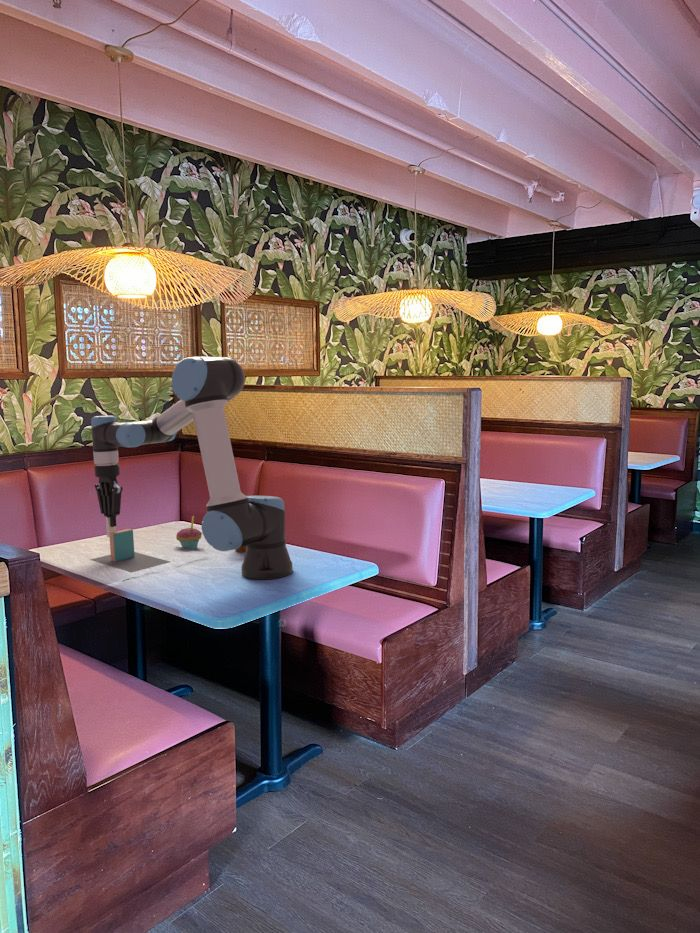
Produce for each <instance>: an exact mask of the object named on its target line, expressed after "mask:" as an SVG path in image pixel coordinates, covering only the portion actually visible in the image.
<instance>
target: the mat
mask: <svg viewBox="0 0 700 933" xmlns="http://www.w3.org/2000/svg"><path fill="white" fill-rule="evenodd" d="M134 553H135V557H132V558H128V559H124V560H120V561H116V562H114V561H111V554H108V555H104V556H98V557H94V558H91V559H89V560H90V561H93V562H96V563H100V564H103V565H106V566H109V567H113V568H115V569H120V570H122V571H126V572H129V573H134V572H139V571H142V570H146V569H150V568H154V567H157V566H160V565H161V566H162V565H165V564H167V563H171V561H170V560H166V559H162V558H159V557H154V556H151V555H147V554H143V553H139V552H135V551H134Z"/></svg>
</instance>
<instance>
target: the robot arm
mask: <svg viewBox="0 0 700 933" xmlns="http://www.w3.org/2000/svg"><path fill="white" fill-rule="evenodd" d="M245 376H246V375H245V372H244V369H243V368H242V366H241V365H240V363H239V362H237V361H236V360H235V359H232V358H230V357H225V356H219V357H218V356H200V355H197V356H196V355H195V356H190V357H186V358H183V359H181V360H180V361H179V362H178V363H177V364H176V365H175V368H174V369H173V372H172V376H171V387H172V388H171V389H172V391H173V394H174V395H175V396H177V398H178V399H179V400H178V401H177V402H176V403H174V404H173V405H171V406H170V407H169V408H167V409H166V410H165V411H163V412H162V413H161V414H159V415H158V416H156V417H155V418H153V419H149V420H143V421H142V420H141V421H129V422H128V421H127V422H117V418H116V416H114V415H96V416H93V417H91V423H90V424H91V428H90V431H91V439H92V440H91V442H92V453H93V464H94V465H95V466H93V467H94V475H95V477H96V478H98V483H96V484H94V488H95V491H96V495H97V500H98V505H99V510H100V514H103V515H104V518H105V528H106V537H107V538H110V537H109V533H111V532H116V531H118V530H117V516H119V515H120V514H121V505H122V504H121V503H122V502H121V500H122V492H123V489H124V488H123V486H121V485H120V486H119V485H118V482H119V481H118V480H117V477H118V476H120V474H121V472H120V465H119V455H120V454H119V448H120V447H123V448H137V447H140V446H144V445H150V444H151V445H152V444H159V443H160V444H162V443H163V444H164V443H167V442H171V441H173V440H175V439H176V436H177V434H178V432H179V431H180V430H182V429H183V428H185V427H187V426H188V425H189V424H190V423H192V422H193V421H194V426H195V431H196V435H197V440H198V445H199V450H200V456H201V461H202V465H203V469H204V475H205V478H206V484H207V488H208V493H209V500H208V502H207V503H206V505H205V506H206V513H205V515H204V516H203V518H202V521H201V526H200V527H201V533H202V536H203V537H204V539H205V541H206V542H207V543H208V545H209V546H211V547H212V548H213V549H215V550H217V551H219V552H229V551H236V549H238V548H239V547H242V546H245V545H246V552H244V558H243V562H242V564H241V576H243V577H244V578H248V579H252V580H272V579H273V580H274V579H280V578H283V577H287V576H289V575H291V574H292V573H293V562H292V560H291V557H290V554H289V551H288V549H287V543H286V540H287V539H286V509H285V500H283V498H281V497H279V496H272V495H245V494H244V493H243V492H242V491H241V487H240V481H239V476H238V472H237V471H238V470H237V466H236V461H235V456H234V453H233V446H232V442H231V436H230V434H229V428H228V422H227V419H226V415H225V406H226V405H227V404H228V402H230V401H231V400H233V399H235V397H237V396H238V395H239V394H240V393H241V391H242V390H243V388H244V386H245V381H246V378H245Z"/></svg>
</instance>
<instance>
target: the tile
mask: <svg viewBox="0 0 700 933" xmlns="http://www.w3.org/2000/svg"><path fill="white" fill-rule="evenodd" d="M108 538H109V548H110V555H111V561H114V562H116V561H120V560H124V559H128V558H132V557H135V553H134V552H135V541H134V530H133V529H131V528H126V529H120V530H117V531H116V532H111V533H109V537H108Z"/></svg>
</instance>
